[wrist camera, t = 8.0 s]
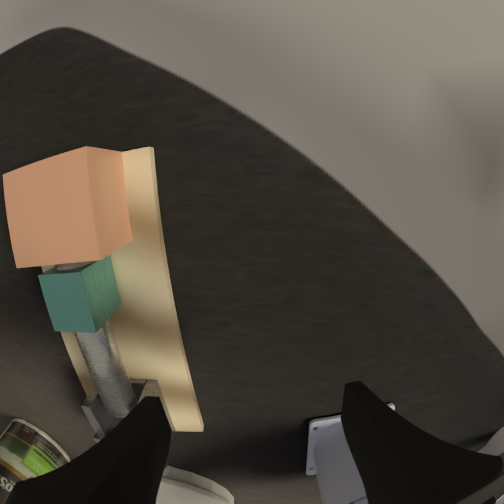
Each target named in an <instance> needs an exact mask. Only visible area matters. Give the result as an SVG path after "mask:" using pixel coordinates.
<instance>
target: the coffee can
mask: <svg viewBox="0 0 504 504" xmlns="http://www.w3.org/2000/svg"><path fill="white" fill-rule="evenodd" d="M70 461H71V460H70V458H69V456H68V455H67V453H66V452H65V451H64V450H63V448H62V447H61V446H60V445H59V444H58V443H57V442H55V441H54V440H53V439H52V438H51V437H50V436H49V435H47V434H46V433H45V432H43V431H42V430H41V429H39V428H38V427H36V426H35V425H33V424H31V423H30V422H28V421H26V420H23V419H20V418H14V419H13V420H12V421H11V423H10V425H9V426H8V427H7V428H6V430H5V431H4V432H3V434H2V435H1V436H0V504H5V501H6V500H7V498H8V496H9V494H10V492H11V491H12V489H13V487H14V485H15V484H16V482H19V481H23V480H27V479H30V478H34V477H37V476H40V475H43V474H45V473H48V472H50V471H52V470H55V469H57V468H59V467H61V466H63V465H65V464H66V463H68V462H70Z"/></svg>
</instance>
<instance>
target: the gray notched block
mask: <svg viewBox="0 0 504 504" xmlns="http://www.w3.org/2000/svg"><path fill="white" fill-rule="evenodd" d="M129 380H130V382H131V385H132V388H133V390H134V393H135V395H136V398H137V400H138V403H139V402H140V401H141V400H142V399H143V398H144V397H145V396H157V397H160V400H161V402H162V405H163V408H164V411H165V413H166V416H167V419H168V421H169V424H170V426H171V429H172V433H171V442H170V449H169V453H168V457H167V461H166V465H165V468H164V469H167V465H168V461H169V457H170V453H171V449H172V445H173V441H174V437H175V432H176V430H175V427H174V425H173V422H172V420H171V417H170V414H169V411H168V409H167V406H166V403H165V400H164V397H163V394H162V392H161V389H160V386H159V382H158V380H147V379H129ZM138 403H137V404H138ZM81 407H82V409H83V411H84V413H85V414H86V416H87V418H88V420H89V422H90V423H91V425H92V427H93V429H94V430H95V432H96V434H95V436H94V440H95V441H96V443H98V442H99V441H100V440H101V439H102V438H104V437H105V436H106V435H107V434H108V433H109V432H110V431H111V430H113V429H114V428H115V427H116V426H117V425H118V424H119V423H120V422H121V421H122V420H123V419H124V418H125V417H124V418H115V417H112V416H110V415H109V414H108V412H107V410H106V408H105V406H104V404H103V402H102V400H101V398H100V396H99V394H98V391H97V389H96V387H95V385H94V386H93V387H92V389H91V390H90V392H89V393H88V395H87V396H86V398H85V400H84V401H83V403H82V404H81Z"/></svg>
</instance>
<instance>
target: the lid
mask: <svg viewBox="0 0 504 504" xmlns="http://www.w3.org/2000/svg"><path fill="white" fill-rule="evenodd" d="M156 504H234V497H233V496H232V495H231V494H230V493H229V491H228V490H227V489H226V488H224V487H222V486H221V485H219V484H217V483H216V482H214V481H212V480H210V479H207V478H205V477H202V476H200V475H197V474H195V473H192V472H189V471H185V470H181V469H178V468H174V467H171V466H168V465H167V469H164V472H163V475H162V479H161V483H160V486H159V490H158V494H157V499H156Z"/></svg>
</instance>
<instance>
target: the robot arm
mask: <svg viewBox="0 0 504 504" xmlns="http://www.w3.org/2000/svg"><path fill="white" fill-rule="evenodd" d="M394 409H395V406H394V404H392V403H391V404H386V403H384V402H383V401H382V400H381V399H380V398H379V397H378V396H376V395H375V394H374V393H373V392H372V391H371V390H370V389H369V388H368V387H367V386H365V385H364V384H363V383H362V382H361V381H356V382H351V383H346V384H345V390H344V398H343V405H342V412H341V415H337V416H331V417H325V418H319V419H314V420H312V421H310V423H309V435H308V450H307V463H306V474H307V475H315V474H316V476H317V481H318V486H319V491H320V496H321V501H322V504H495V503H496V499H495V498H494V495H495V494H496V493H497V492H498V491H499V490H500V489H501V488H502V486H503V485H504V460H503V459H502V458H501V457H500V456H494V455H488V454H482V453H478V452H474V451H470V450H467V449H463V448H460V447H458V446H455V445H452V444H450V443H447V442H445V441H443V440H440V439H438V438H436V437H434V436H432V435H430V434H428V433H427V432H425V431H423V430H421V429H420V428H418V427H416V426H415V425H413V424H412V423H410V422H409V421H408V420H406V419H405V418H403V417H402V416H401V415H399V414H398V413H397V412H395V411H394ZM314 427H315V428H314ZM171 433H172V429H171V426H170V424H169V421H168V419H167V416H166V413H165V411H164V408H163V405H162V402H161V400H160V397H157V396H145V397H144V398H143V399H142V400H141V401H140V402H139V403H138V404H137V405H136V406H135V407H134V408H133V409H132V410H131V411H130V412H129V414H128V415H127V416H126V417H125V418H124V419H123V420H122V421H121V422H120V423H119V424H118V425H117V426H116V427H115V428H114V429H113V430H111V431H110V432H109V433H108V434H107V435H106V436H105V437H104V438H102V439H101V440H100V441H99V442H98V443H97V444H95V445H94V446H93V447H91V448H90V449H89V450H87V451H86V452H84V453H83V454H82V455H80V456H78V457H77V458H75V459H73V460H72V461H70V462H68V463H66V464H65V465H63V466H61V467H59V468H57V469H55V470H52V471H50V472H48V473H45V474H43V475H40V476H37V477H34V478H30V479H27V480H23V481H19V482H16V484H15V485H14V487H13V489H12V491H11V492H10V494H9V496H8V498H7V500H6V501H5V504H156V499H157V494H158V490H159V486H160V483H161V479H162V475H163V472H164V468H165V465H166V461H167V457H168V453H169V449H170V442H171Z"/></svg>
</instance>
